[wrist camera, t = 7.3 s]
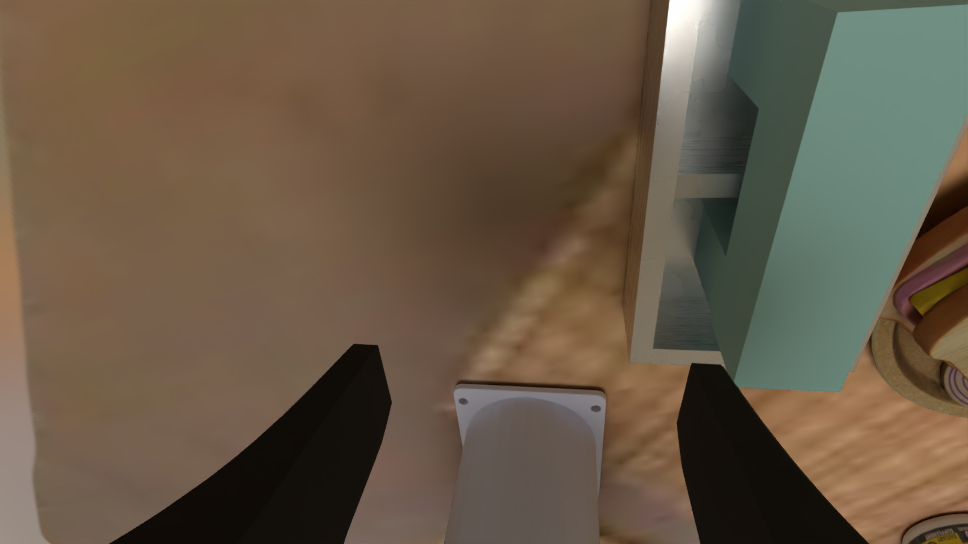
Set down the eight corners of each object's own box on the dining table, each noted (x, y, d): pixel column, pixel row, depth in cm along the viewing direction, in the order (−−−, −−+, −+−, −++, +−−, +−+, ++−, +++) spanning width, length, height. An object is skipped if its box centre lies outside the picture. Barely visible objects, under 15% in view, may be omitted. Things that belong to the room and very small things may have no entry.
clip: (771, 267, 20) (839, 392, 15) (692, 266, 21) (732, 387, 16) (858, -34, 15) (1019, 1, 9) (745, -26, 15) (837, 12, 10)
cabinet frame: (817, 311, 22) (853, 371, 19) (622, 307, 23) (629, 362, 20) (991, -152, 13) (1104, -167, 10) (661, -117, 14) (683, -122, 12)
